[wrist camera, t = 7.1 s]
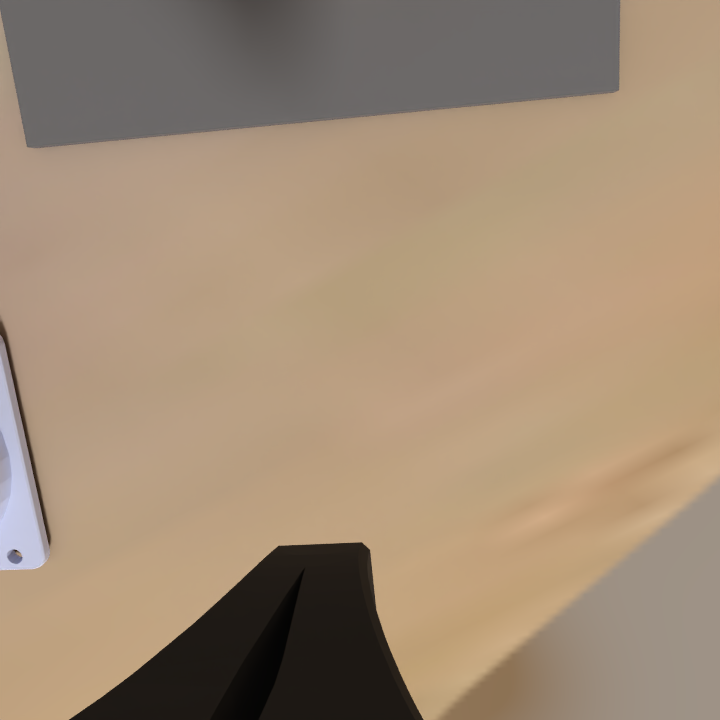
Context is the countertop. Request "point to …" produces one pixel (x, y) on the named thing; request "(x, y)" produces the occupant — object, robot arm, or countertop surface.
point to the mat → (291, 60)
